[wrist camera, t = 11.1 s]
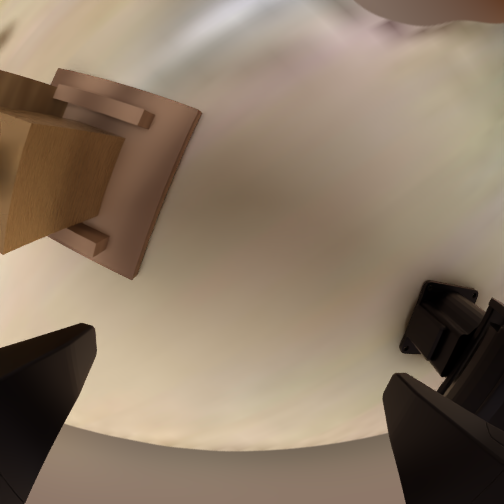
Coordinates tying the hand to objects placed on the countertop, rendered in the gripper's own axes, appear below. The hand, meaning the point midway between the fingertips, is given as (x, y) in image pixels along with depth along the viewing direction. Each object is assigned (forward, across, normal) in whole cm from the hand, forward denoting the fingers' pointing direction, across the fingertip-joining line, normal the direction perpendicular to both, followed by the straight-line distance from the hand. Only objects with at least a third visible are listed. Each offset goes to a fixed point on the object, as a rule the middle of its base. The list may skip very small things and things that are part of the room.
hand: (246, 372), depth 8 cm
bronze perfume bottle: (+12, +12, -4) cm, 17 cm away
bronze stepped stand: (+13, +12, -4) cm, 18 cm away
